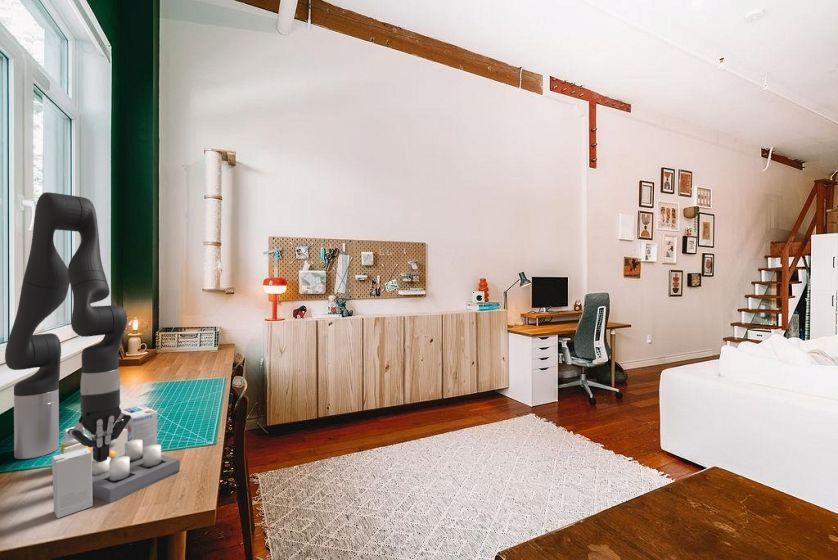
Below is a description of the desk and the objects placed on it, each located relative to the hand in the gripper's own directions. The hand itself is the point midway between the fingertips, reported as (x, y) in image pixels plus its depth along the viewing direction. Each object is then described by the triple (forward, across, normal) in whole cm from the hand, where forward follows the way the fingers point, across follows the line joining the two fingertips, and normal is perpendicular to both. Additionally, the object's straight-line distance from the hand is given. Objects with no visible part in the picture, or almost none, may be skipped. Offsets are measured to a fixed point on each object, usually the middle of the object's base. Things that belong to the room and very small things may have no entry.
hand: (101, 460), depth 99 cm
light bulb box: (+6, -16, -13) cm, 22 cm away
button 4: (+2, -7, +7) cm, 11 cm away
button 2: (+2, 0, +7) cm, 8 cm away
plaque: (+5, -4, -9) cm, 11 cm away
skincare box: (+6, +9, +7) cm, 13 cm away
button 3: (+2, -8, 0) cm, 8 cm away
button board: (+5, -4, +4) cm, 7 cm away
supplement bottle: (+6, -2, -16) cm, 17 cm away
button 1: (+4, 0, 0) cm, 4 cm away
